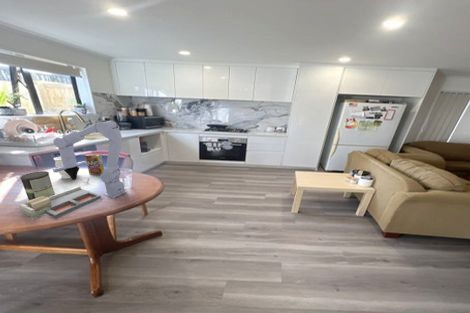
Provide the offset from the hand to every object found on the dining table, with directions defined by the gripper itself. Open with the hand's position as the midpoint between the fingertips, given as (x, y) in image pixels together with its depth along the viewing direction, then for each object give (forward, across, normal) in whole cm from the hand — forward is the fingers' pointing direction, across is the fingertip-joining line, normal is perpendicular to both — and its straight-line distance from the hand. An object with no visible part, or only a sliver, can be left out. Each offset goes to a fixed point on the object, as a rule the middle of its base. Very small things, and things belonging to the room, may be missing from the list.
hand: (74, 179), depth 99 cm
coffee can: (+10, +10, -13) cm, 19 cm away
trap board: (+9, +10, +8) cm, 16 cm away
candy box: (+10, -24, -21) cm, 33 cm away
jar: (+10, -12, -32) cm, 36 cm away
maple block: (+7, +17, +3) cm, 19 cm away
